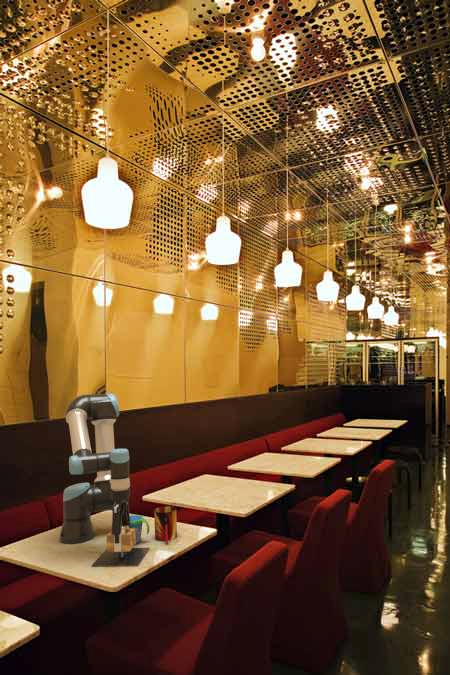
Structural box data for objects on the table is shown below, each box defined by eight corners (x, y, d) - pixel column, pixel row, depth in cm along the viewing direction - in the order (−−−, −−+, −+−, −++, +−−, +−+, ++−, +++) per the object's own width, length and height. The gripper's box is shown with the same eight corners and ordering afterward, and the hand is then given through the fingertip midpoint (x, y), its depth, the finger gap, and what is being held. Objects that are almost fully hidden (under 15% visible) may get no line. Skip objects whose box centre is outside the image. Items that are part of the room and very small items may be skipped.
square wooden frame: (114, 543, 190) (113, 528, 191) (136, 543, 190) (135, 528, 190) (106, 551, 181) (106, 535, 182) (129, 551, 181) (129, 535, 181)
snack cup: (109, 546, 199) (108, 521, 200) (120, 538, 209) (119, 514, 210) (143, 547, 195) (143, 522, 196) (153, 538, 206) (152, 515, 207)
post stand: (107, 549, 195) (106, 519, 196) (149, 548, 193) (149, 518, 195) (91, 566, 177) (90, 533, 178) (138, 566, 176) (137, 532, 177)
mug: (166, 545, 197) (165, 516, 198) (151, 537, 208) (150, 509, 209) (186, 540, 202) (185, 511, 203) (170, 532, 213) (169, 505, 215)
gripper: (119, 483, 199) (120, 538, 197) (101, 495, 177) (103, 557, 175) (136, 482, 198) (138, 537, 196) (121, 494, 177) (122, 557, 174)
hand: (121, 546), depth 185 cm, fingers closed on square wooden frame, 9 cm apart
